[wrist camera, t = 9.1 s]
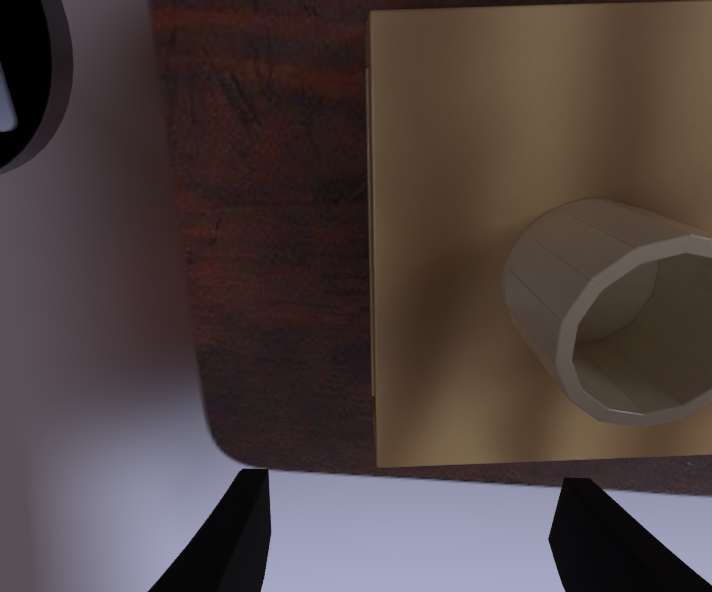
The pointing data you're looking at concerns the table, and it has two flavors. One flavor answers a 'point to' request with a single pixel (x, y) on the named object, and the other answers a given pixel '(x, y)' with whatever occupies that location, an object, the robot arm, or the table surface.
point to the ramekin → (616, 309)
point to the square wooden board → (515, 206)
